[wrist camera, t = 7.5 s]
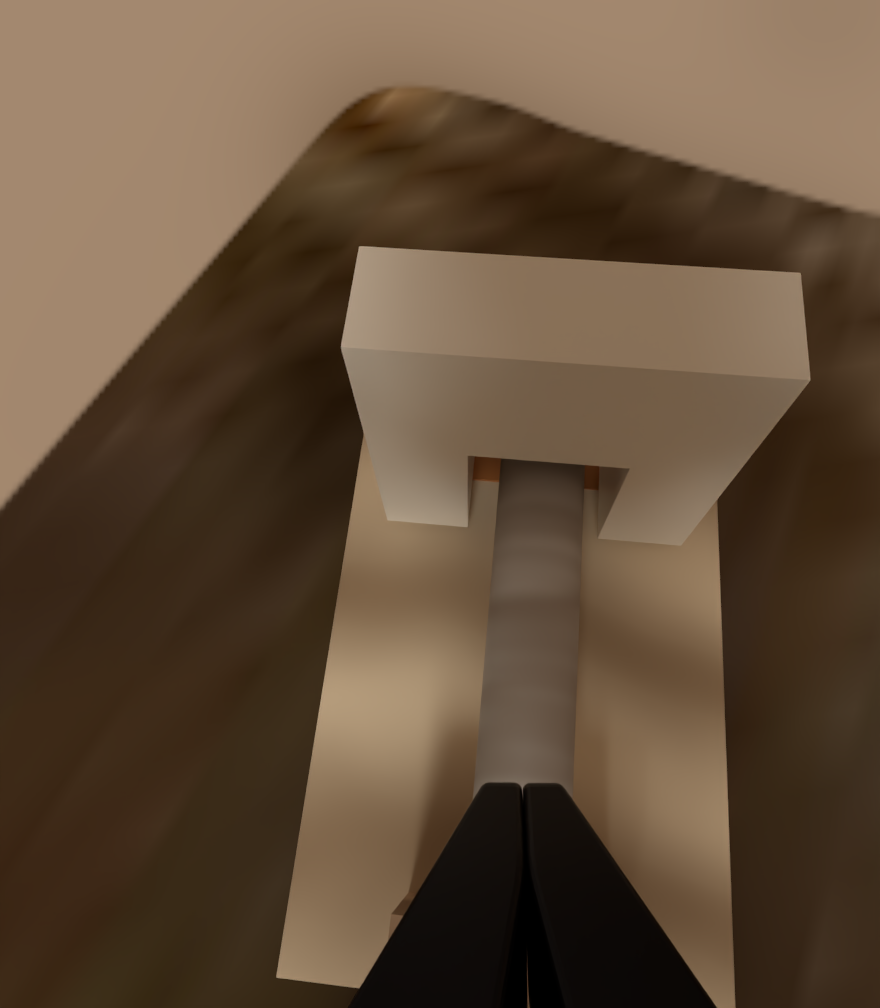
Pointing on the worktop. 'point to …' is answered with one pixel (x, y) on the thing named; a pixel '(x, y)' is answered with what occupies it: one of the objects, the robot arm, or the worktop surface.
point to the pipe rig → (515, 710)
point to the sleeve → (569, 377)
